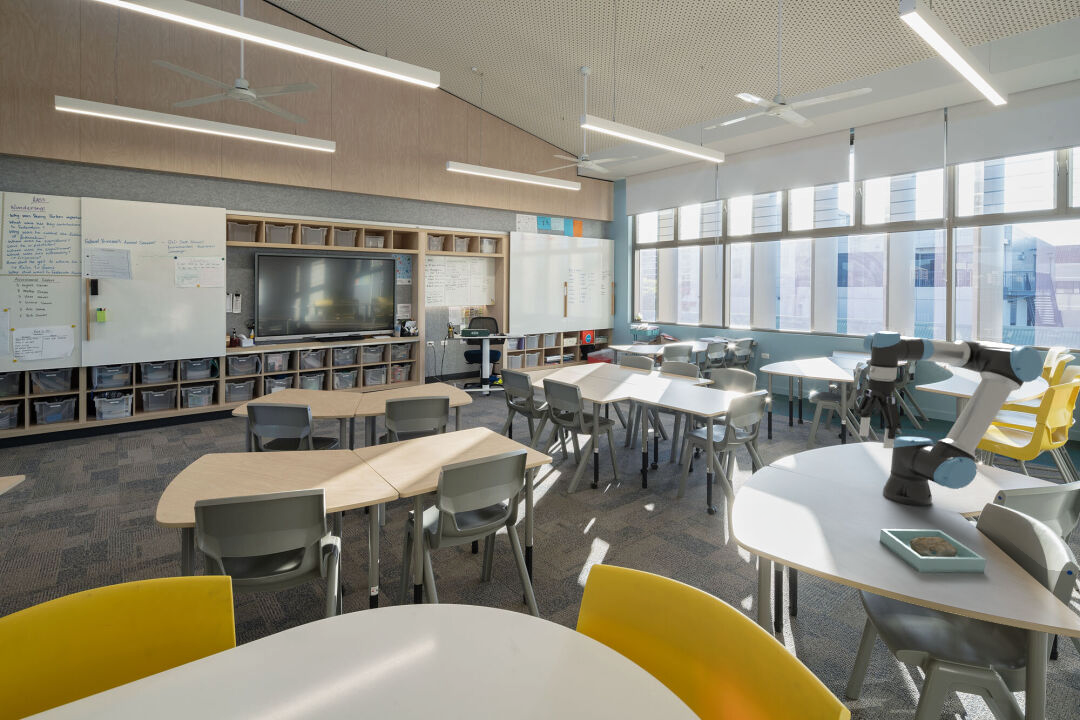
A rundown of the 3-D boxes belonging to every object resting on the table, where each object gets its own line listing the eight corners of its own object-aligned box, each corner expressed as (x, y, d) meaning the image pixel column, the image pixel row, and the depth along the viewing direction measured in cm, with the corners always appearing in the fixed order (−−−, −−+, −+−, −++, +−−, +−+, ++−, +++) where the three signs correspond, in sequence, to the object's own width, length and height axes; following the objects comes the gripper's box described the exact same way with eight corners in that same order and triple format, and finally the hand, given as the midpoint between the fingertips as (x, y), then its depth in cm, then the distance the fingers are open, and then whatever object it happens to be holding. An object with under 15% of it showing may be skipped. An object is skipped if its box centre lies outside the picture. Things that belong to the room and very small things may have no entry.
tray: (938, 542, 170) (939, 529, 170) (984, 572, 153) (985, 559, 152) (879, 541, 170) (881, 528, 170) (918, 571, 153) (920, 558, 152)
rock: (904, 548, 164) (905, 534, 164) (939, 547, 165) (941, 533, 165) (923, 561, 157) (925, 547, 156) (960, 560, 158) (962, 545, 157)
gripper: (849, 372, 192) (844, 431, 196) (894, 386, 168) (887, 453, 171) (871, 372, 192) (865, 431, 196) (919, 386, 168) (911, 453, 171)
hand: (875, 441), depth 183 cm, fingers open, 13 cm apart
